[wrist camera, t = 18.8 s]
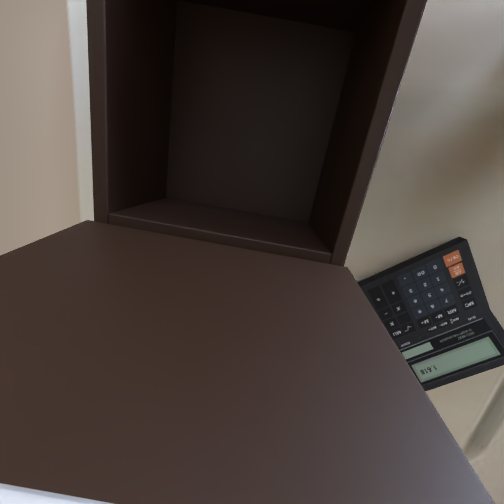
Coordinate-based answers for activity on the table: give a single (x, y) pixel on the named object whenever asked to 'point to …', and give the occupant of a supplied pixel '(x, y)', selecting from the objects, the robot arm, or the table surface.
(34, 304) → the lid
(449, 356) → the calculator
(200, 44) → the dark wooden planter box
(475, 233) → the table surface
